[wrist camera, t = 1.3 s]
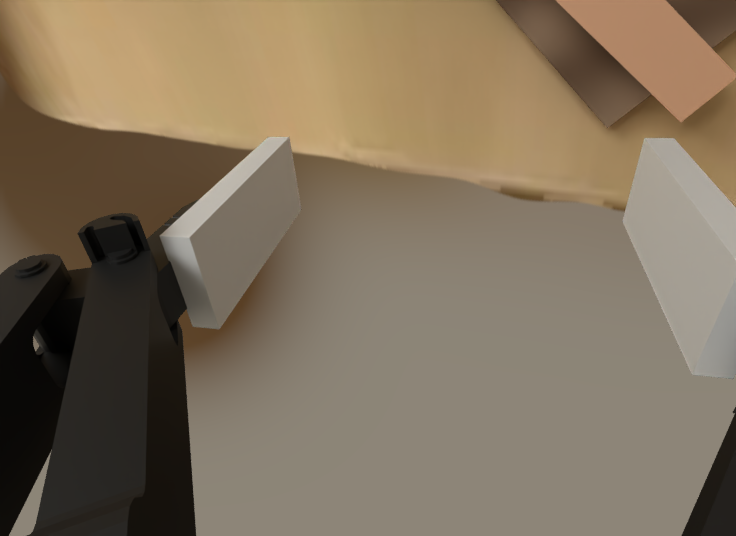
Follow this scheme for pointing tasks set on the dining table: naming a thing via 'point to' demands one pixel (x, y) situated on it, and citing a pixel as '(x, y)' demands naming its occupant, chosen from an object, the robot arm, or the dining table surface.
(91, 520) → the robot arm
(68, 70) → the dining table surface
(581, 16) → the link
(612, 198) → the dining table surface
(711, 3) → the pintle plate
